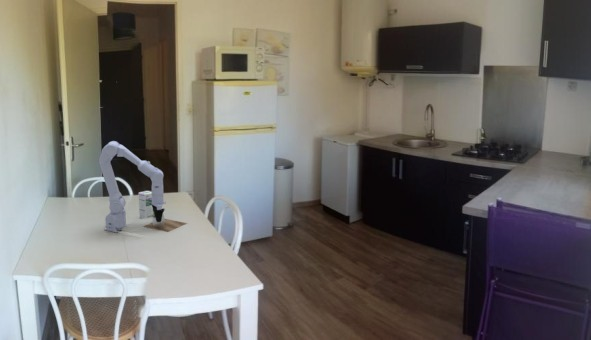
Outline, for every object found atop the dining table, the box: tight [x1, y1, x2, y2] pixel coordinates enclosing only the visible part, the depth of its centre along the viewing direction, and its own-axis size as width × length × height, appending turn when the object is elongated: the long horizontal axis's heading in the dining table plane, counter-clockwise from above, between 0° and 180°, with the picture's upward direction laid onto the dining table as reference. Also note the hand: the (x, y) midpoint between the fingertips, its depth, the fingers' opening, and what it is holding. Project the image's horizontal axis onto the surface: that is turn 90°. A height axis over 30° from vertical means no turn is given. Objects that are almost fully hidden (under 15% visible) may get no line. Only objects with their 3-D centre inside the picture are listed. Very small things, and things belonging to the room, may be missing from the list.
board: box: [142, 218, 188, 233], centre depth 248 cm, size 16×16×2 cm
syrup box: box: [138, 190, 154, 220], centre depth 262 cm, size 6×6×14 cm
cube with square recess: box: [151, 213, 165, 227], centre depth 247 cm, size 6×6×5 cm
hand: (158, 219), depth 247 cm, fingers open, 7 cm apart
